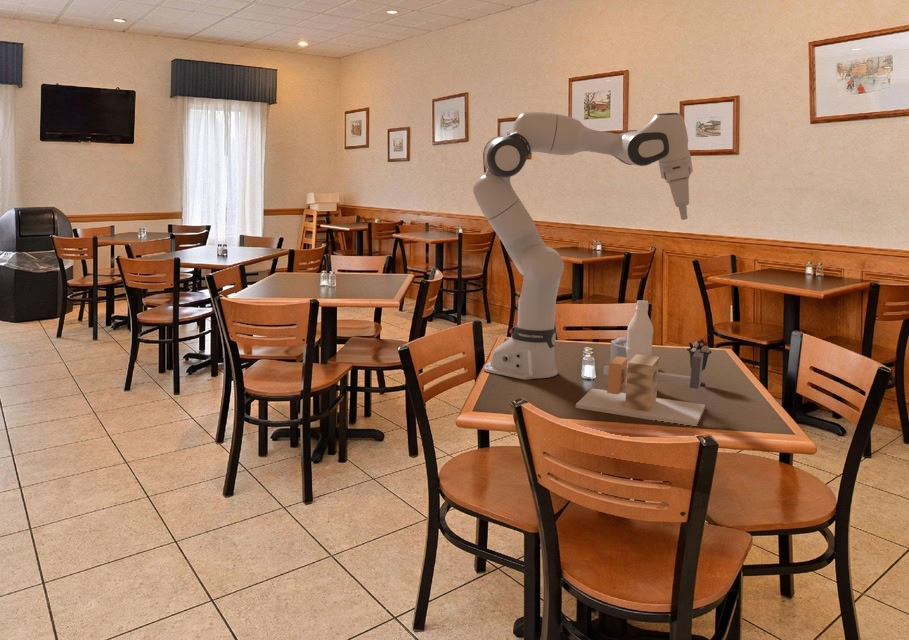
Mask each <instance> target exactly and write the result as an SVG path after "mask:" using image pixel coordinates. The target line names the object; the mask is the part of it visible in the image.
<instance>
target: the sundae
mask: <svg viewBox="0 0 909 640" xmlns="http://www.w3.org/2000/svg"><path fill="white" fill-rule="evenodd" d="M709 336H710V334H706V335H705V336H704V337H703V338H700V339H699V340H696V341H695V342H694V343H691V342H688V345H689V348H686V351H688V353H689V360H690V361H689V364H690V368H691V367H692V356H693V355H694V353H695V352H699V353H704V354H703V365H702V372H704V371H705V369H706V367H707V363H708V357H709V356H710V355H711V354H712V350H711V349H710V347H709V345H708V342H707V338H708V337H709ZM704 339H705V340H704ZM704 385H706V383H705V382H702V381H701V384H700V386H699V387H704Z"/></svg>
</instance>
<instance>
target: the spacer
mask: <svg viewBox="0 0 909 640" xmlns="http://www.w3.org/2000/svg"><path fill="white" fill-rule="evenodd" d="M627 360H628V358H626V357H618V356H616V357H615V358H614V359H613V360H612V361H611V362H610V361H609V362H608V366H609V372H608V375H607V393H611V394H617V395H619V394H620V393H623V390H624V389H626V377H622V370H623V369H624V368H627Z"/></svg>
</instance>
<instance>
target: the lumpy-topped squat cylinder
mask: <svg viewBox="0 0 909 640" xmlns="http://www.w3.org/2000/svg"><path fill="white" fill-rule="evenodd" d="M626 346H627V336H626V337H625V336H621V337H620V336H619V337H617V338H615V339H612V340H611V341H610V351H609V356H610V357H609V363H610V362H611V361H612V360H613V359H614V358H615V357H616V356H618V357H626V358H627V353H626Z"/></svg>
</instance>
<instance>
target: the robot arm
mask: <svg viewBox="0 0 909 640" xmlns="http://www.w3.org/2000/svg"><path fill="white" fill-rule="evenodd" d="M686 127H687V126H686V122H685V119H684V117H683V115H682V114H680V113H678V112H664V113H657V114H654V116H653V117H652V119H651V120H649V122H648V123H646V125H644V126H643V127H642V128H640V129H639V130H637V129H631V130H630V129H629V130H627V131H622V132H620V133H614V132H608V131H601V130H596V129H592V128H589V127H587V126H585V125H584V124H583V122H581V121H580V120H578V119H576V118H573V117H570V116H568V115H565V114H558V113H552V112H545V111H530V112H529V111H527V112H523V113H521V114H519V115H518V116H517V118H516V119H515V121H514V124H513V127H512V130H511V133H509V134H508V135H500V136H495V137H493V138H492V139H490V140H489V141H488V142H487V143H486V145H485V146H484V148H483V154H482V160H483V173H484V174H483V175H481V176H480V177H478V178H477V180H476V181H475V183H474V185H473V187H472V188H473V189H472V191H473V195H474V197H475V200H476V202H477V205H478V206H479V208H480V210H481V213H482V214H483V215H484V216H485V218H486V220H487V221H488V223H489V224H490V226H491V227H492V229H493V231H494V232H495V234H496V235H497V237H498V238H499V240H500V242H501V243H502V245H503V246H504V248H505V250H506V252H507V254H508V256H509V257H510V259H511V260H512V262H513V264H514V266H515V267H516V269H517V270H518V272H519V274H521V276H523V278H522V280H523V281H522V287H521V291H520V295H519V298H518V300H517V302H518V303H517V304H518V305H517V306H518V307H517V324H514V326H512V327H511V328H510V330H509V334H511V337H509V338H508V339H507V340H505V341H504V342H502V343H501V344H499V345H498V346H496V347H495V349H493V353H492V356H491V361H488V362H486V363H485V364H484V365H483V371H484V372H488V373H492V374H494V375H501V376H505V377H510V378H514V379H520V380H524V381H525V380H526V381H527V380H533V379H545V378H551V377H555V376H557V375H558V370H557V369H558V368H557V366H556V357H555V355H556V354H555V344H556V339H557V336H556V335H557V334H556V333H557V332H556V327H555V319H556V302H557V297H558V292H559V288H560V284H561V283H560V282H561V277H562V276H563V274H564V272H565V270H564V269H565V263H564V259H563V258H562V256H561V255H560V253H559V252H558V251H557V250H556V249H554V248H552V247H550V246H548V245H546V243H545V241H544V240H543V238H542V237H541V235H540V233H539V231H538V228H537V226H536V224H535V221H534V219H533V218H532V216H531V215H530V213H529V211H528V209H527V208H526V207H525V205H524V203H523V202H522V201H521V199H520V197H519V196H518V195H517V193H516V191H515V190H514V188H513V186H512V184H511V182H512V181H511V177H514V176H515V175H517V174H518V173H519V172H520V171H521V170H522V169H523V167H524V166H525V164H526V162H527V160H528V158H529V155H530V154H531V153H532V152H533V153H542V154H543V153H544V154H549V155H556V156H559V155H560V156H572V155H575V154H577V153H580V152H592V153H597V154H603V155H609V156H612V157H614V158H615V159H617V160H619V161H620V162H621V163H623V164H625V165H629V166H632V165H633V166H637V167H638V166H640V167H646V166H649V165H651V164H653V163H656V162H657V161H658V165H659V171H660V177H661V179H664V181H665V180H666V183H667V184H668V185H669V188H670V193H671V195H672V199H673V202H674V206H675V207H677V208H678V210H679V216H680V219H681V220H682V221H683V220H687V219H688V209H687V206H688V205H690V188H689V187H690V186H689V185H690V184H689V179H690V177H691V174H692V173H693V172H694V170H693V169H694V168H693V163H692V157H691V156H692V155H691V152H690V151H689V136H688V131H687V128H686Z"/></svg>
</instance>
